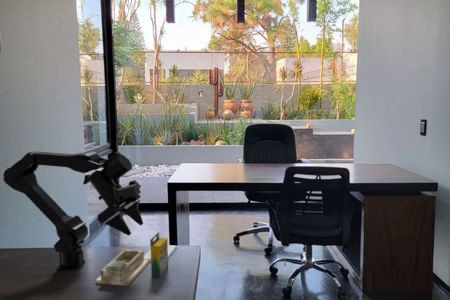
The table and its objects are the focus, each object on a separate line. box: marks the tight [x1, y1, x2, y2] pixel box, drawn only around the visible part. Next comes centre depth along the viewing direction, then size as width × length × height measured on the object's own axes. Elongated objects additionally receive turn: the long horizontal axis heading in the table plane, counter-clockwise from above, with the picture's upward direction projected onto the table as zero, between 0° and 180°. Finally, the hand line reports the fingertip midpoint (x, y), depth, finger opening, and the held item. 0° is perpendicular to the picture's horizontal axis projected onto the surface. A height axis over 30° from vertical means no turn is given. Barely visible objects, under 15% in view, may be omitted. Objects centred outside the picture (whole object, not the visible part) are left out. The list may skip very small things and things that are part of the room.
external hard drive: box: [144, 244, 178, 263], centre depth 139 cm, size 2×8×12 cm
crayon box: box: [149, 231, 169, 278], centre depth 125 cm, size 7×3×12 cm, turn 168°
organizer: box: [95, 249, 150, 287], centre depth 125 cm, size 10×16×5 cm, turn 169°
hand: (136, 229), depth 125 cm, fingers open, 9 cm apart
